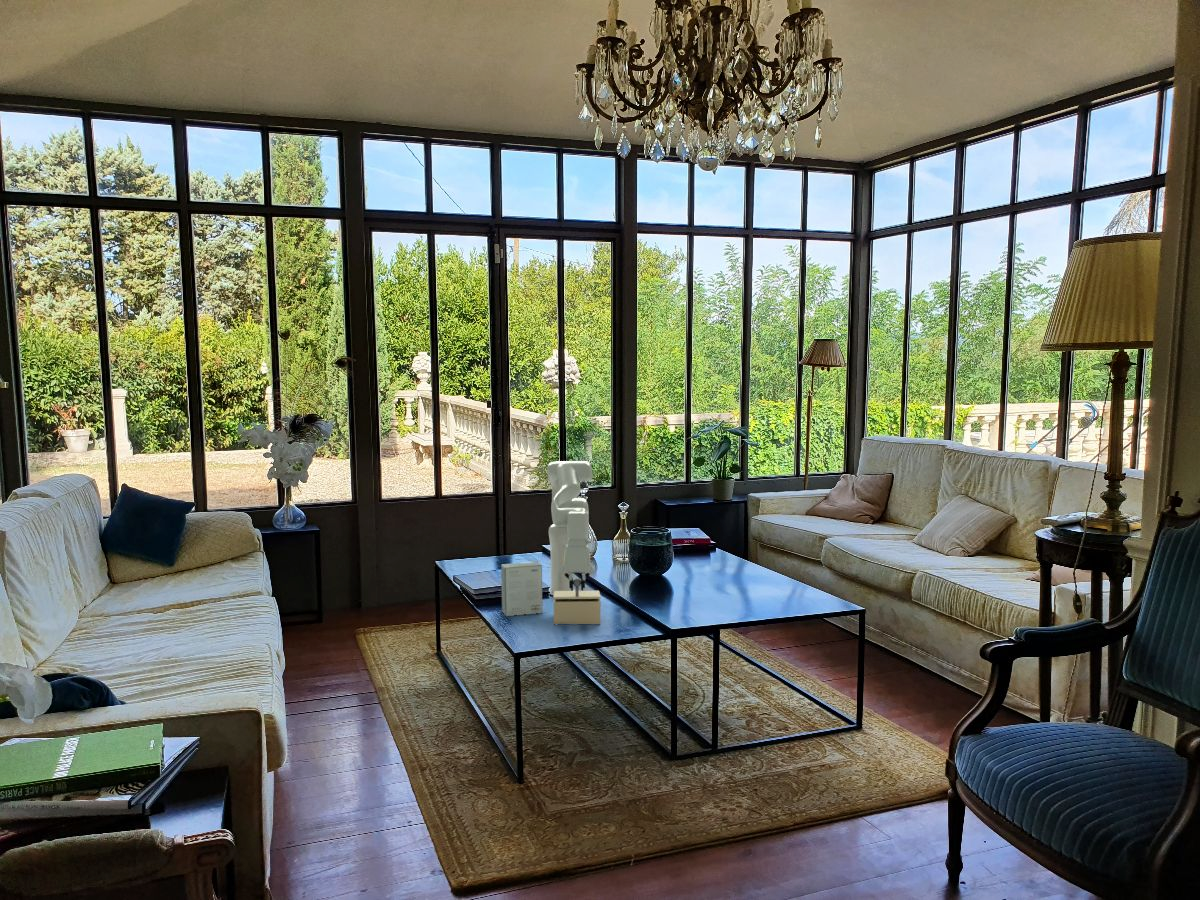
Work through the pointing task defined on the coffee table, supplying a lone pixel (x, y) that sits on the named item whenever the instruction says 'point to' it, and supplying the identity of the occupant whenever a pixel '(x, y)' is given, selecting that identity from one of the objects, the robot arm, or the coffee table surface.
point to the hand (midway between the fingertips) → (577, 589)
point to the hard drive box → (521, 588)
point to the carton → (577, 611)
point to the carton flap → (577, 593)
